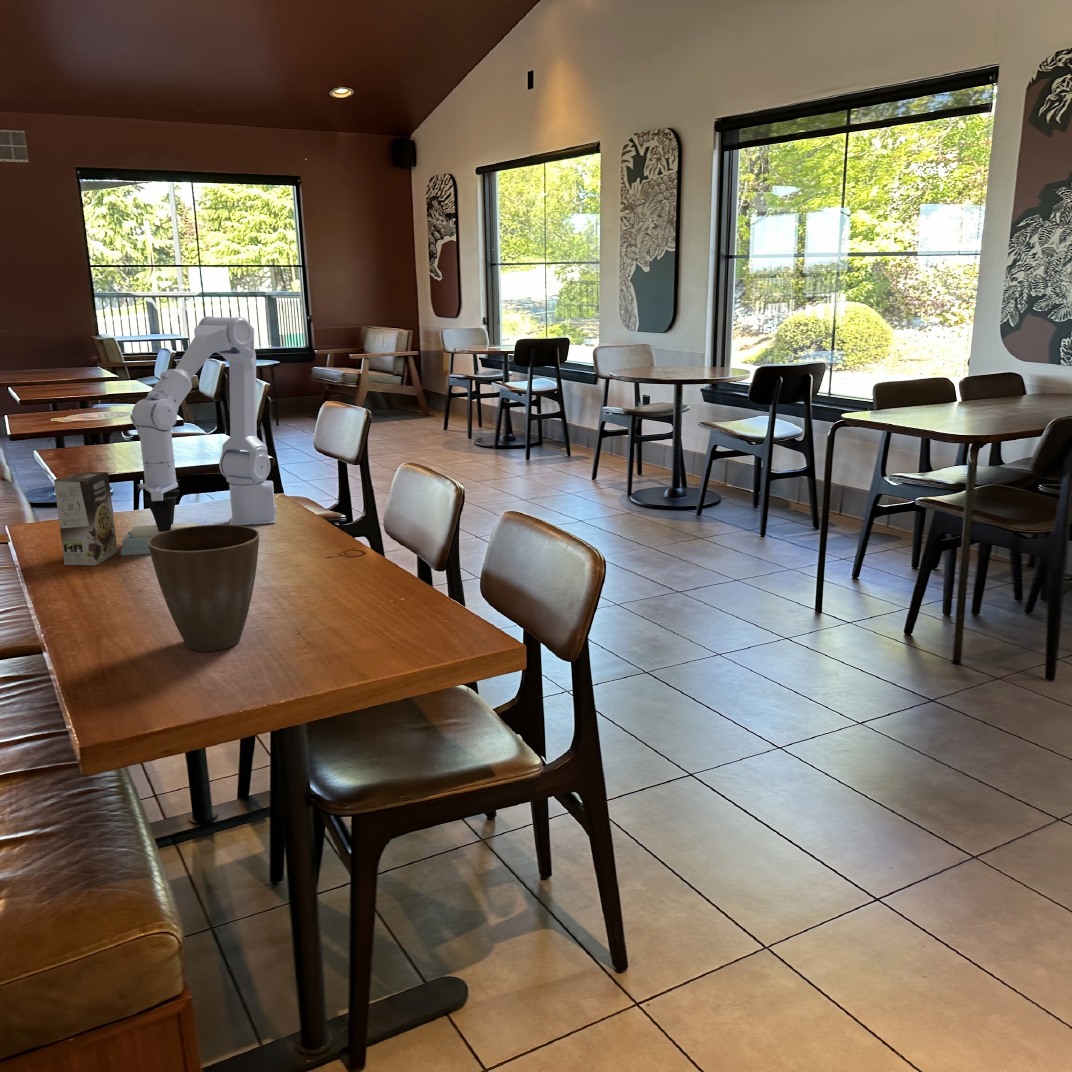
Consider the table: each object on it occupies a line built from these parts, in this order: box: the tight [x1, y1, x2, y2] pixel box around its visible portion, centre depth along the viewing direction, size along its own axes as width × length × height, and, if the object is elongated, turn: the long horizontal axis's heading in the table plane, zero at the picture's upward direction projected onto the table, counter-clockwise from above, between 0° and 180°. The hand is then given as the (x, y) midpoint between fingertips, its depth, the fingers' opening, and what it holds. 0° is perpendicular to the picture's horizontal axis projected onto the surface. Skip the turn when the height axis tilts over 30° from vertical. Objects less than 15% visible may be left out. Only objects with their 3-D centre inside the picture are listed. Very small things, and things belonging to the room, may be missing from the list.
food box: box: [53, 471, 118, 566], centre depth 180 cm, size 9×6×16 cm
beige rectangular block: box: [130, 522, 198, 538], centre depth 189 cm, size 12×3×3 cm, turn 104°
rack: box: [120, 530, 152, 556], centre depth 189 cm, size 16×9×3 cm, turn 104°
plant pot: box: [148, 524, 260, 653], centre depth 137 cm, size 15×15×16 cm
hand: (165, 529), depth 189 cm, fingers closed on beige rectangular block, 3 cm apart
